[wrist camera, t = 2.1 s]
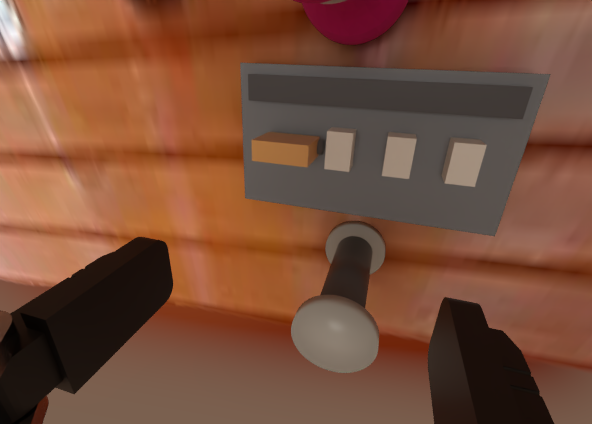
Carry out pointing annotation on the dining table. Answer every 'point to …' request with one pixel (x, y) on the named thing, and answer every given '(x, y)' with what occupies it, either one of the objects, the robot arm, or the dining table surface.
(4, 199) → the dining table surface
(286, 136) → the main breaker lever
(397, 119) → the breaker panel
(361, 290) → the grey-capped dumbbell
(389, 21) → the pepper mill
